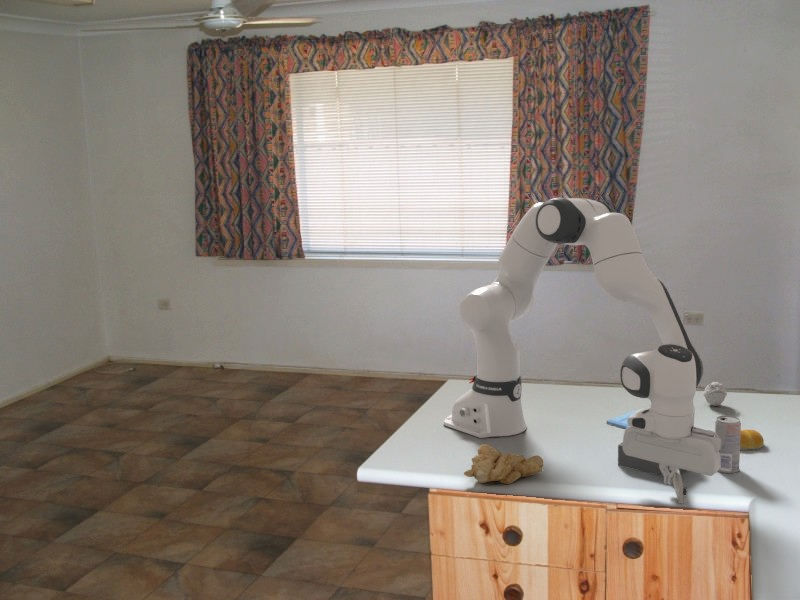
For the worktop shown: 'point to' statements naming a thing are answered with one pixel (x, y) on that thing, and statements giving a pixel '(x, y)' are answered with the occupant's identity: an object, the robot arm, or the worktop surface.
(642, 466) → the camera body
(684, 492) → the side door
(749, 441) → the bread roll
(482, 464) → the ginger root
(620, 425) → the light blue flat slab
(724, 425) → the energy drink
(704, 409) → the worktop surface
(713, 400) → the white lumpy ball
